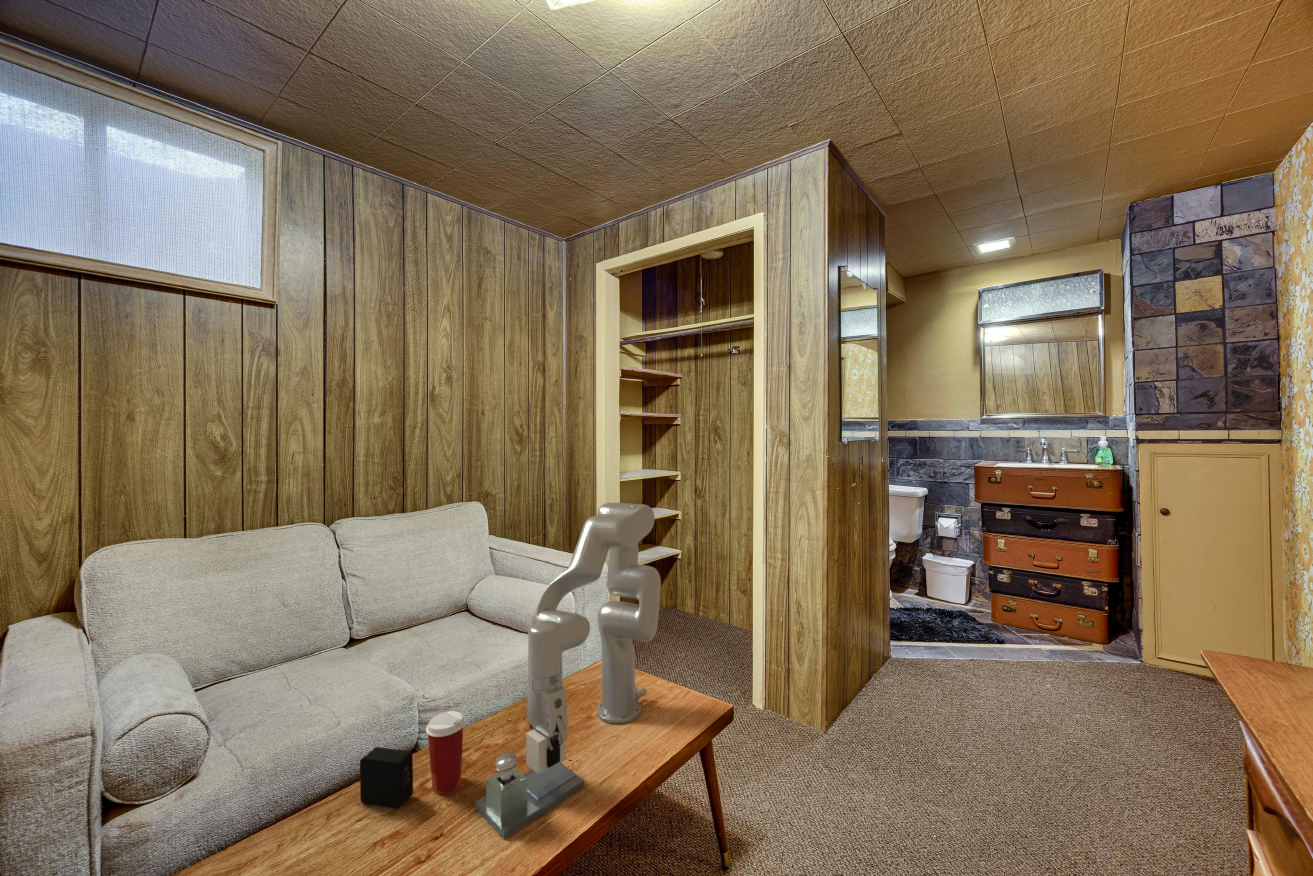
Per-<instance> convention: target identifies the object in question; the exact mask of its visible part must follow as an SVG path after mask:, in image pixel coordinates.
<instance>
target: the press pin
mask: <svg viewBox="0 0 1313 876" xmlns="http://www.w3.org/2000/svg"><path fill="white" fill-rule="evenodd" d="M517 764H518V756H517V754H516V753H513V752H505V753H502V754H499V756H497V757H496V759H495V760H494V766H495V770H496V771H498V772H500V771H501V784H502V785H503V786H504V785H506V784H507V783H509V782H511V781H512V769H513V768H514V767H515V768H516V766H517Z"/></svg>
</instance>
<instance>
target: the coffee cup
mask: <svg viewBox="0 0 1313 876" xmlns="http://www.w3.org/2000/svg"><path fill="white" fill-rule="evenodd" d="M465 720H466V719H465V718H464V717H463V714H462V713H460V712H459V711H453V710H452V711H444V712H441V713H439V714H436V715H434V716H433V717H432V718H431V719H430V720H429V722H428V724H427V726H426V728H425V733H426V734H427V739H428V751H429V752H428V753H429V762H430V763H429V764H430V765H429V766H430V776H431V778H430V779H431V787H432V791H433V792H434V793H435V794H437V795H444V794H449V793H451V792H453V791H454V790H456V789H458V788H459V786H460V784H461V782H462V780H461V779H462V766H463V765H462V763H463V743H464V741H463V740H464V726H465V723H466V721H465Z"/></svg>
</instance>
